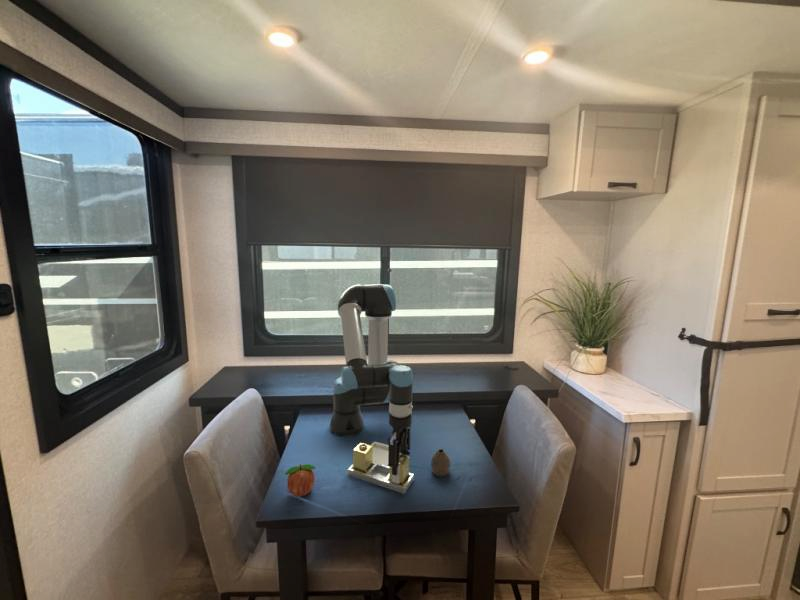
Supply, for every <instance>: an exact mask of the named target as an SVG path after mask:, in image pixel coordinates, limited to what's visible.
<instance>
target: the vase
mask: <svg viewBox="0 0 800 600" xmlns="http://www.w3.org/2000/svg"><path fill="white" fill-rule="evenodd" d="M430 469H431V471H432V473H433V474H434V475H435V476H437V477H445V476H447V475H448V474H449V472H450V471H451V470H450V469H451V461H450V458H449V456H448V454H447V453H446V451H445V450H444V449H443V448H442V449H441V448H439V449H438V450H437V451H436V452H435V453H434V454H433V456H432V458H431V461H430Z"/></svg>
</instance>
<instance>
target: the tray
mask: <svg viewBox="0 0 800 600" xmlns="http://www.w3.org/2000/svg"><path fill="white" fill-rule="evenodd" d="M369 445H370V446H373V456H372V461H373V462H376V463H380V464H383V465H386V466H388V454H389V444H386V443H382V442H377V441H373V442H371V444H369Z"/></svg>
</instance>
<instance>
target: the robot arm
mask: <svg viewBox="0 0 800 600" xmlns="http://www.w3.org/2000/svg"><path fill="white" fill-rule="evenodd" d="M396 299H397V298H396V295H395V291H394V288H393V287H392V286H391V285H390V284H382V283H375V284H355V285H351V286H350V287H348V288H347V289H346V290H345V291H343V293H342V295H341V296H340V298H339V300H338V303H337V313H338V317H340V319H341V328H342V329H341V330H342V339H343V348H344V349H343V350H344V358H345V366H342V368H341V371H340V372H341V374H340V376H339V377H338V378H337V379H336V380H334V382H333V390H332V394H333V413H332V415H331V419H330V423H329V431H330V432H331V433H332V434H334V435H336V436H340V437H344V436H353V435H357V434H359V433H361V432H362V431H363V430H364V427H365V425H364V424H365V421H364V419H363V416H362V415H363V414H362V412H361V406H367V405H380V404H381V405H383V404H386V403H388V404H389V405H388V413H389V414H388V423H389V425H390V427H391V428H392V432H391V436H392V437H388V439H387V443H388V444H387V445H389V454H388V466H389V467H392V479H391V482H394V483H397V484H399V483H400V464H399V458H400V454H401V455H405V456H410V454H411V451H410V450H411V427H412V423H413V422H412V421H413V420H412V418H413V415H412V410H413V408H414V406H413V381H414V375H413V369H412V368H411V367H410V366H407V365H402V364H399V363H398V361H396V360H388V347H389V345H388V344H389V343H388V342H389V338H388V336H389V319H390V318H391V317H392V312H394V311H396V307H397V300H396ZM362 312H364V316H365V318H367V319H368V333H367V335H368V339H367V340H368V342H367V343H368V344H367V345H368V350H367V351H368V354H367V353H366V345H365V340H364V333H363V326H362V320H361V315H362ZM367 355H368V357H367Z"/></svg>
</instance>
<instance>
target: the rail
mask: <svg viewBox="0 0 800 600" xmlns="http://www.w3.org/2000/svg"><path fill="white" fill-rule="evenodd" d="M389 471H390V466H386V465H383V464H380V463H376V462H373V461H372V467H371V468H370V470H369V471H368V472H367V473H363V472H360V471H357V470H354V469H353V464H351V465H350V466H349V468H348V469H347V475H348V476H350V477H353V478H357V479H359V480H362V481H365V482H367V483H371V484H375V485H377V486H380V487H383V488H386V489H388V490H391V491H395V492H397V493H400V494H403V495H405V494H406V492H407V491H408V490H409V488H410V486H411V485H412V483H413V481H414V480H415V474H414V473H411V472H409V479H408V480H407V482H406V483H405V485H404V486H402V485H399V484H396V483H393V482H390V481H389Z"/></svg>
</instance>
